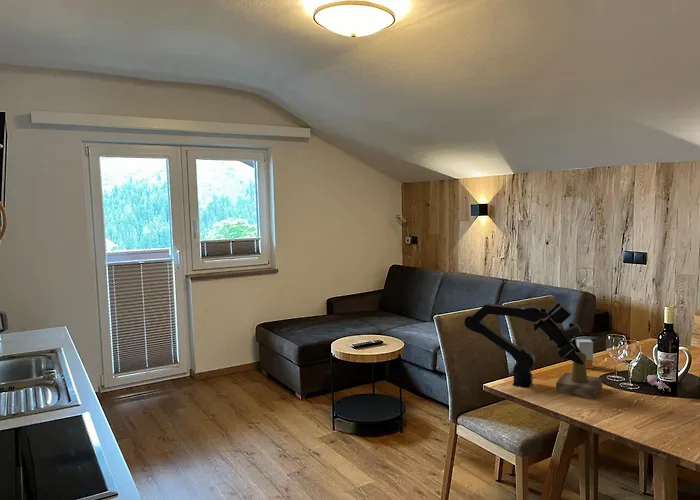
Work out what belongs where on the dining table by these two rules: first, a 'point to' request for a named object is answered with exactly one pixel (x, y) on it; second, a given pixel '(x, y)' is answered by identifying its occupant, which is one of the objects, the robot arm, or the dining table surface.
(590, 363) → the skincare box
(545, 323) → the robot arm
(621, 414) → the dining table surface
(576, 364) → the cork
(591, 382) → the walnut plinth
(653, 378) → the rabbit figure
